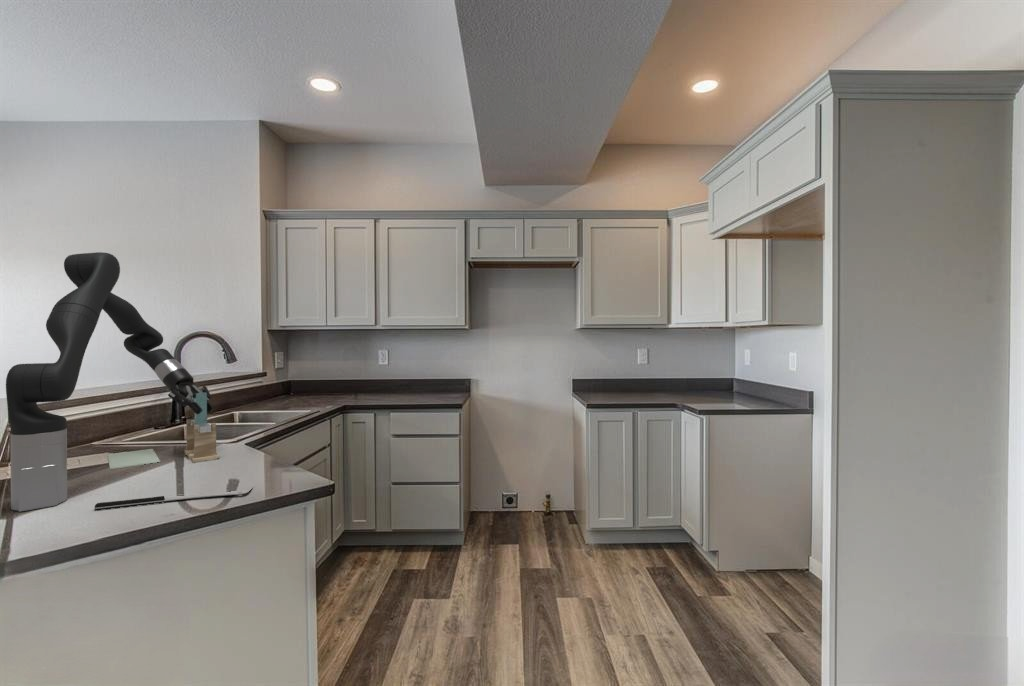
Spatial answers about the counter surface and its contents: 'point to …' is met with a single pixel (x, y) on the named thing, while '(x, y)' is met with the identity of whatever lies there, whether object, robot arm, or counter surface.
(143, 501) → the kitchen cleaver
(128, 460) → the mat
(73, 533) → the counter surface
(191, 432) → the rack
